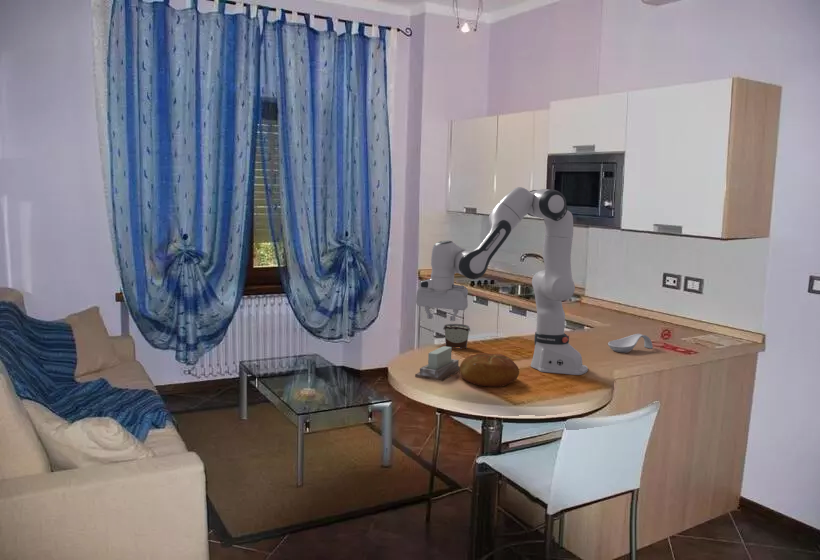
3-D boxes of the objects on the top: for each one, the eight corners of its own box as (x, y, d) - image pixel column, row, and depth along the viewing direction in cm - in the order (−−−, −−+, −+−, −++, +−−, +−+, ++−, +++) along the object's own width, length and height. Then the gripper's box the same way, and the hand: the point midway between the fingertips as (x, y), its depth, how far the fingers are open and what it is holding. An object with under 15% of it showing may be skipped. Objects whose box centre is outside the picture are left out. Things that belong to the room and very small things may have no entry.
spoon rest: (621, 355, 298) (622, 339, 297) (602, 350, 308) (602, 334, 307) (658, 350, 310) (659, 335, 309) (638, 345, 320) (639, 330, 319)
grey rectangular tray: (462, 369, 266) (462, 360, 265) (442, 381, 248) (442, 371, 248) (437, 365, 271) (437, 357, 270) (415, 376, 253) (415, 367, 253)
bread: (532, 381, 252) (533, 354, 251) (497, 393, 235) (498, 365, 233) (482, 369, 267) (483, 344, 266) (445, 380, 250) (446, 354, 248)
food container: (471, 346, 308) (472, 324, 307) (469, 349, 302) (470, 327, 301) (445, 344, 311) (446, 322, 310) (442, 346, 305) (443, 325, 304)
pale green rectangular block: (451, 367, 265) (451, 347, 264) (436, 375, 252) (437, 354, 251) (442, 366, 266) (443, 346, 265) (427, 373, 254) (428, 353, 253)
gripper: (470, 284, 253) (469, 321, 255) (421, 280, 262) (420, 315, 264) (464, 286, 248) (463, 323, 250) (414, 282, 257) (413, 318, 259)
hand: (441, 319), depth 257 cm, fingers open, 8 cm apart
